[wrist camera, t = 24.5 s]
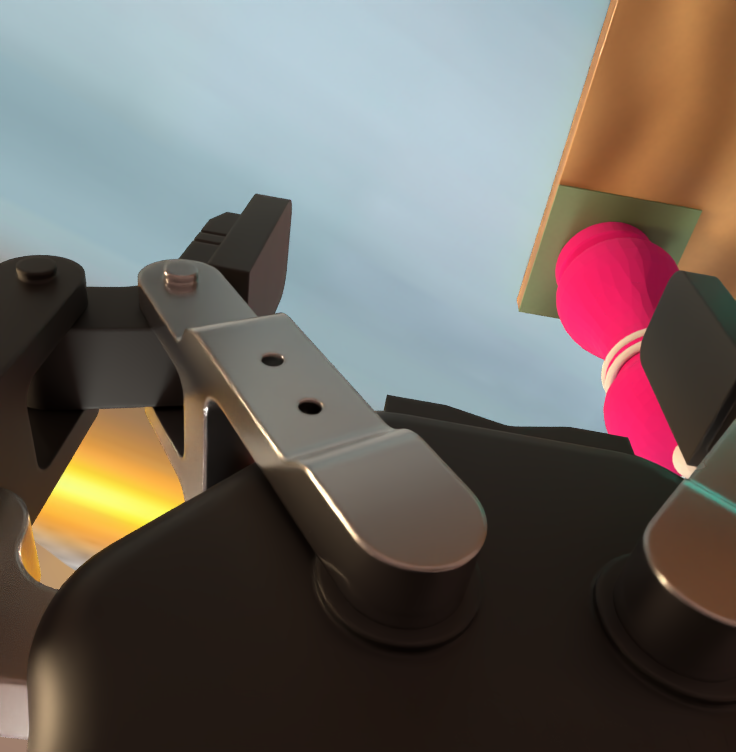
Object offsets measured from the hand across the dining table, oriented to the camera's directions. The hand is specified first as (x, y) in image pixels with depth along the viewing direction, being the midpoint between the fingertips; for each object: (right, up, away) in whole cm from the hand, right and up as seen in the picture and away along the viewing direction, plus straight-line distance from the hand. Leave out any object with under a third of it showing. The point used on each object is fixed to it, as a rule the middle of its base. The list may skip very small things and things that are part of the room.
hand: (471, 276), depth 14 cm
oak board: (+17, +10, +28) cm, 34 cm away
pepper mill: (+13, +5, +30) cm, 33 cm away
